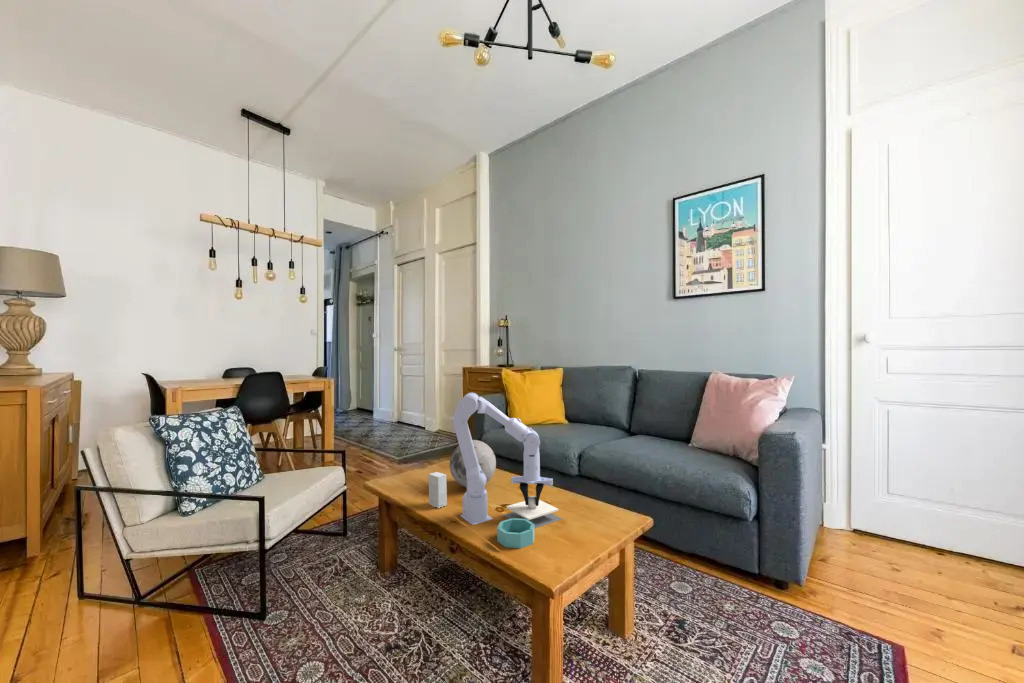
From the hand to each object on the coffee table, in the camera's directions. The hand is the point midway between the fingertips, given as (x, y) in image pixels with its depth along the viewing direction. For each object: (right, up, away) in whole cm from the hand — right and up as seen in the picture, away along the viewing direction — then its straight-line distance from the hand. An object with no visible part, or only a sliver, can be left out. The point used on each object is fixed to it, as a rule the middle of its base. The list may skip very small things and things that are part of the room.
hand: (532, 504), depth 145 cm
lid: (0, -2, 0) cm, 2 cm away
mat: (0, -5, 0) cm, 5 cm away
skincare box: (-36, -6, +13) cm, 38 cm away
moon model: (-24, -6, +33) cm, 41 cm away
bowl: (-6, -5, -16) cm, 18 cm away
